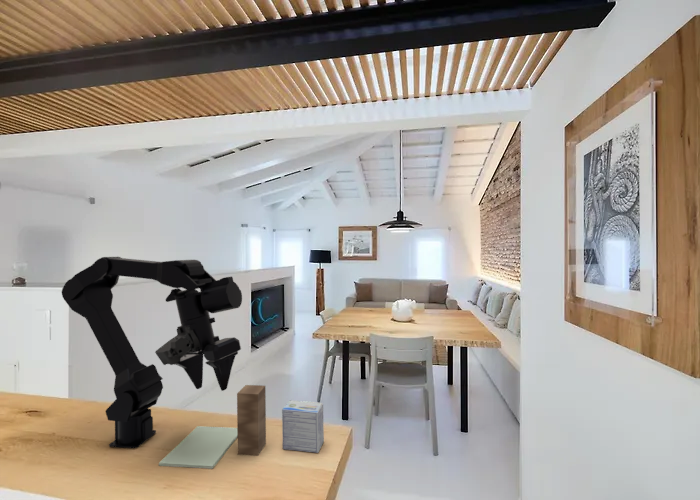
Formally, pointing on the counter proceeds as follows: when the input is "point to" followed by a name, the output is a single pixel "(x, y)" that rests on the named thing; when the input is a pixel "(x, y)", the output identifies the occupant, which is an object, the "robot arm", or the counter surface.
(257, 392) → the walnut block
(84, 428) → the counter surface
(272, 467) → the counter surface
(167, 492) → the counter surface
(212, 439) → the rubber mat
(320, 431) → the medicine box
